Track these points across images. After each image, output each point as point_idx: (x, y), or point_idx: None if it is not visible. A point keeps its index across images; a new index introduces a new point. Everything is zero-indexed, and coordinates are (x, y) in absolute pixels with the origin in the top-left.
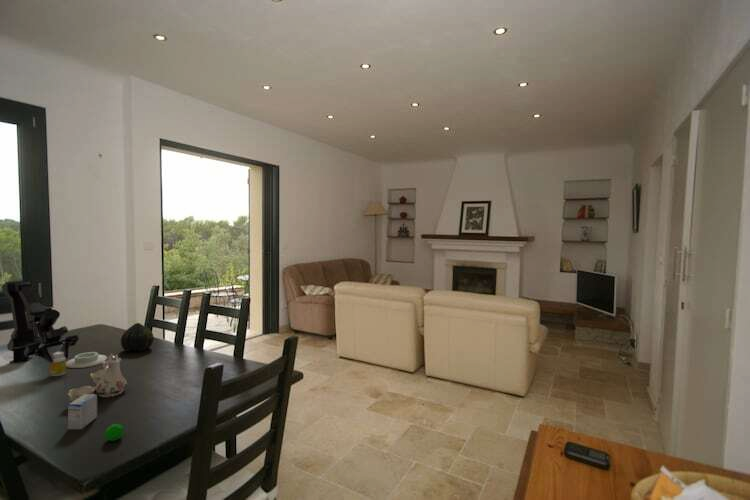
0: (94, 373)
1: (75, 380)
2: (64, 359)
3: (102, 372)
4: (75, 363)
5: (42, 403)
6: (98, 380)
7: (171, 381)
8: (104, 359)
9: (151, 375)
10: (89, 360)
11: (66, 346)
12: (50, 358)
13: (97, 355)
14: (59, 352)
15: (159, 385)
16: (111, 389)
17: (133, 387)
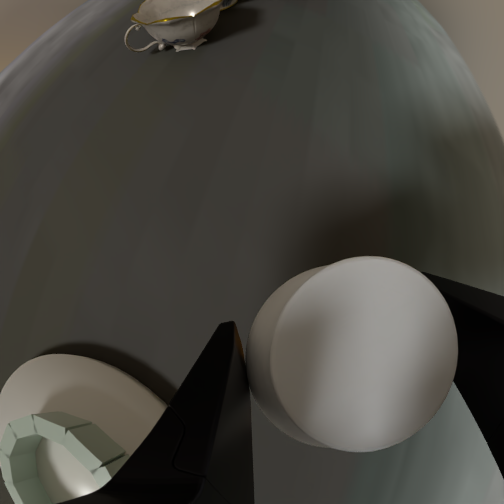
0: (197, 14)
1: (252, 135)
2: (275, 291)
3: (163, 26)
4: None
5: (383, 31)
6: (210, 2)
7: (82, 20)
8: (7, 385)
9: (62, 60)
10: (63, 417)
11: (157, 486)
12: (452, 284)
13: (9, 433)
14: (346, 371)
15: (111, 8)
16: None
17: None
